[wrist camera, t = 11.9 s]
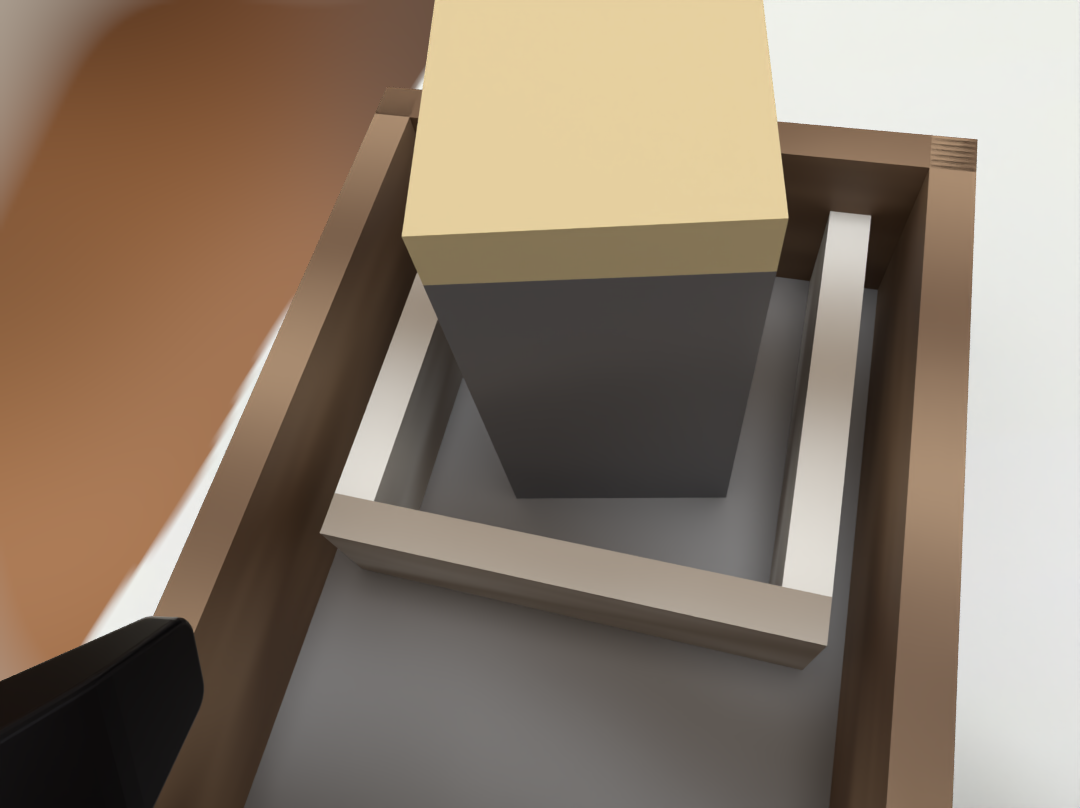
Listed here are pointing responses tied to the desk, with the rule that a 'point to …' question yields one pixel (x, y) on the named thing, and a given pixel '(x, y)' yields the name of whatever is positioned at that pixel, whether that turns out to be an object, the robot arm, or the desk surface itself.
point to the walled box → (597, 539)
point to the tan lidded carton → (601, 232)
